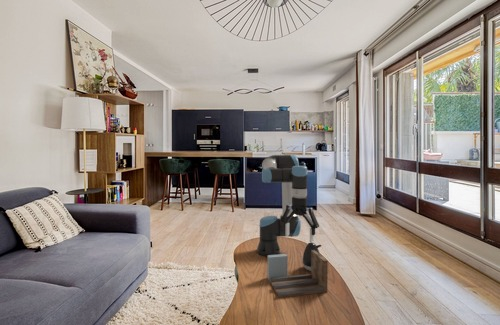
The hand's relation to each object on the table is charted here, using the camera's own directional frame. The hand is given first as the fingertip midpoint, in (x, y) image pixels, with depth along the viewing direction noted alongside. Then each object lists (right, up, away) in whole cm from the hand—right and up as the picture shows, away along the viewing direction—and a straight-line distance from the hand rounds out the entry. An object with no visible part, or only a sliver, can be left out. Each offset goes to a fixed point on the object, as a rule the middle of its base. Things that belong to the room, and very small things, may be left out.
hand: (299, 238), depth 134 cm
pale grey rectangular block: (-10, -22, +5) cm, 25 cm away
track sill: (-1, -23, -4) cm, 23 cm away
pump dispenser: (+10, -22, +16) cm, 29 cm away
